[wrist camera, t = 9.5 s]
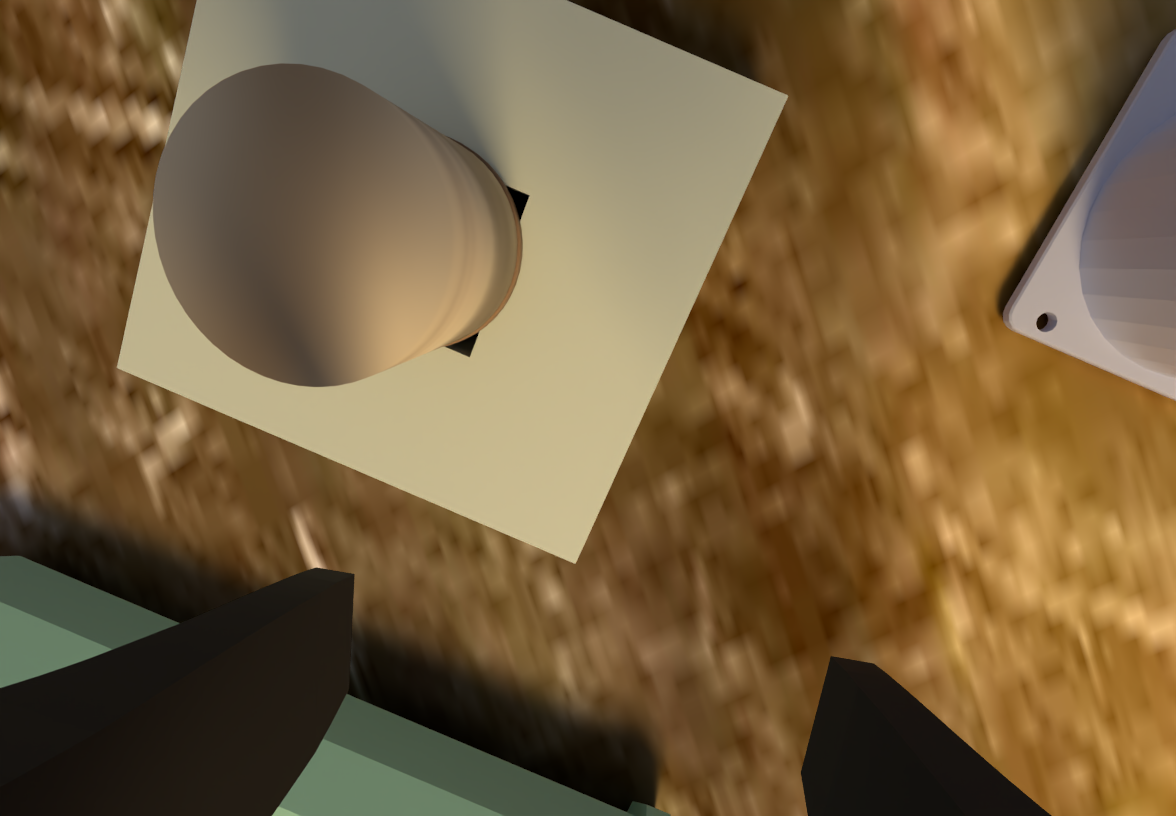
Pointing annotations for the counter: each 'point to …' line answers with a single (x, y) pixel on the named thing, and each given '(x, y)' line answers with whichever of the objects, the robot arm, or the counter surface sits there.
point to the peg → (328, 227)
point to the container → (349, 748)
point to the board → (550, 245)
